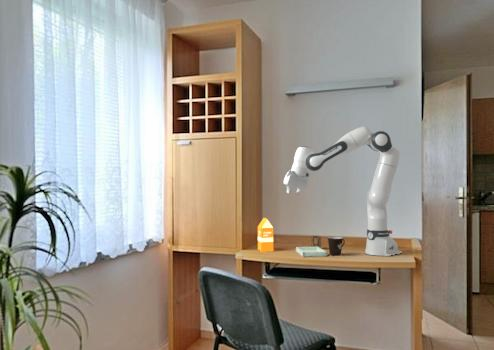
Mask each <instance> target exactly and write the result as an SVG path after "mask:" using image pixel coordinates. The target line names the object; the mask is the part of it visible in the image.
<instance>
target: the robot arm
mask: <svg viewBox="0 0 494 350" xmlns="http://www.w3.org/2000/svg"><path fill="white" fill-rule="evenodd" d="M366 145H367V146H368V147H369V148H370V149H371V150H373V151H374V152H379V158H378V161H377V164H376V166H375V167H376V168H375V171H374V174H373V177H372V178H373V179H372V183H371V186H370V189H369V190H367V193H366V208H367V209H366V210H367V211H366V212H367V213H366V214H367V229H366V236H367V237H366V243H365V250H364V253H365V254H366V255H371V256H378V257H379V256H381V257H383V256H384V257H385V256H386V257H392V256H391V255H393V256H396V255H395V254H397V255H401V254H403V251H402V250H399V248H398V247H399V246H398V245H399V244H398V242H397V241H396V240H394V239H393V238H392V237H391V235H393V230H390V229H389V230H388V213H387V204H388V202H389V199H390V195H391V192H392V187H393V182H394V178H395V175H396V172H397V168H398V164H399V160H400V150H398V149H397V148H396V147H394V146H393V144H392V141H391V137H390V135H389V134H388V133H387V132H386V131H383V130H382V131H381V130H379V131H376V132H372V131H371V129H370V128H368V127H367V126H364V125H363V126H359V127H357V128H355V129H353V130H351V131H349V132H347V133H346V134H344V135H343V136H342V137H340V138H339V139H338V140H337V141H336V142H335V143H333V145H331V146H329V147H327V148H325V149H324V150H322V151H321V152H317V153H316V152H315V151H314V150H312V149H311V147H309V146H299V147H297V149H296V151H295V153H294V157H293V163H292V166H291V169H290V170H288V171H287V172H286V174H285V176H284V179H283V185H285V186H286V193H287V194H291V188H293V187H295V188H296V189H297V190H296V191H295V193H294V194H295V195H297V196H298V195H299V194H300V192H301V191H302V189H306V187H307V185H308V181H309V177H310V173H309V172H308V171H307V169H308V170H310V171H313V172H317V171H319V170H321V169H322V167H324V164H325V163H326V162H328V161H329V160H332V159H333V158H335V157H337V156H339V155H341V154H349V153H352V152H354V151H356V150H358V149H360V148H361V147H363V146H366ZM400 253H401V254H400Z"/></svg>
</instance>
